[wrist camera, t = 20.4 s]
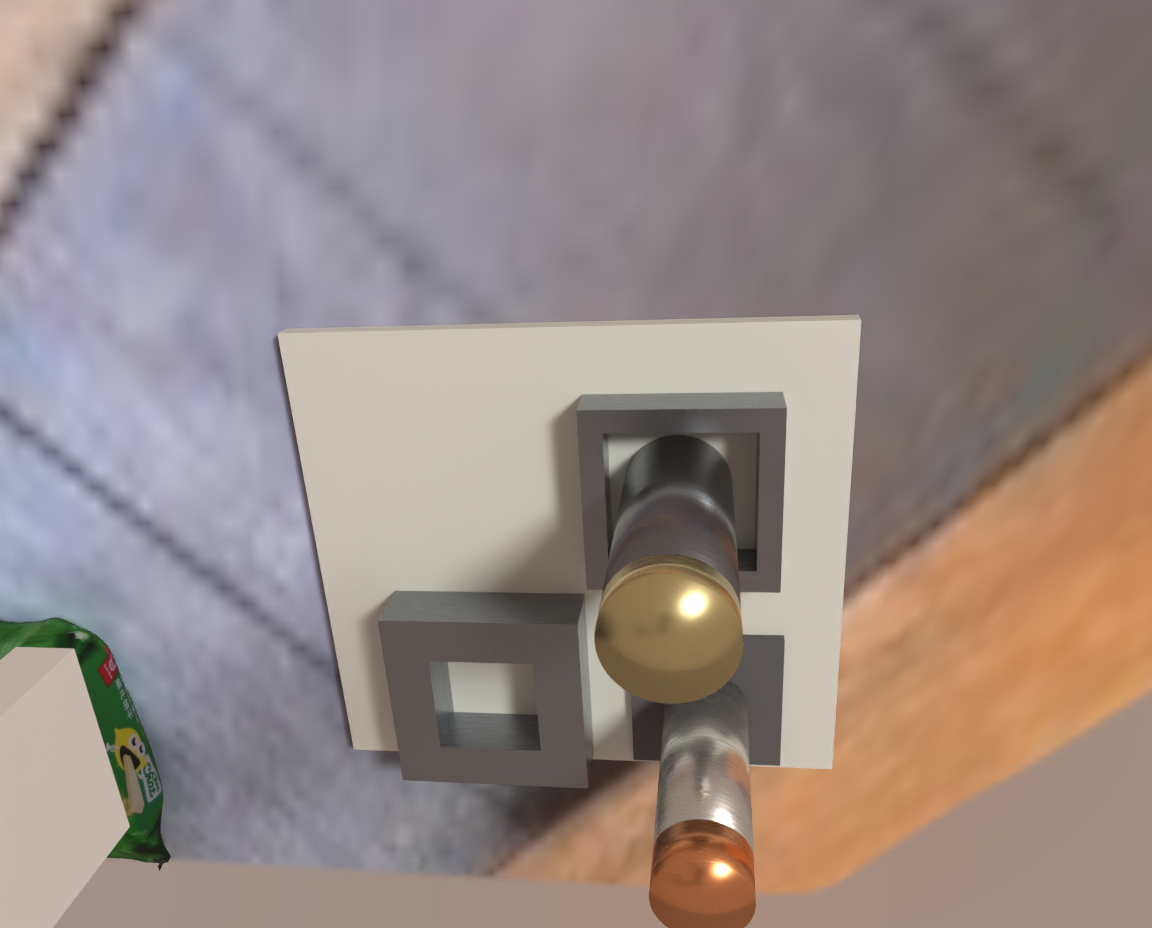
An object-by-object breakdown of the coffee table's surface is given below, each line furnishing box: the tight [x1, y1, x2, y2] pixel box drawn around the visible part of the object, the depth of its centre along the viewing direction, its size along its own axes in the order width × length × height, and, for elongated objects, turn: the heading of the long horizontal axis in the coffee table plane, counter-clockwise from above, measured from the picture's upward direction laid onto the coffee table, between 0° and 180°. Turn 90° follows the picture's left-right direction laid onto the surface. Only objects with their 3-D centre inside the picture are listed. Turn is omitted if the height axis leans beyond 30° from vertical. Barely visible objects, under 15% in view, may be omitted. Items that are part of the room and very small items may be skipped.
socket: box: [576, 392, 787, 593], centre depth 38 cm, size 8×8×2 cm
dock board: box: [277, 315, 861, 769], centre depth 42 cm, size 24×22×1 cm
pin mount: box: [377, 591, 594, 789], centre depth 43 cm, size 9×9×3 cm
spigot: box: [594, 435, 744, 704], centre depth 34 cm, size 5×5×12 cm
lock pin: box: [649, 680, 756, 928], centre depth 38 cm, size 4×4×11 cm
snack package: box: [0, 618, 170, 870], centre depth 48 cm, size 7×16×5 cm, turn 9°
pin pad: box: [631, 634, 785, 766], centre depth 43 cm, size 7×7×1 cm
